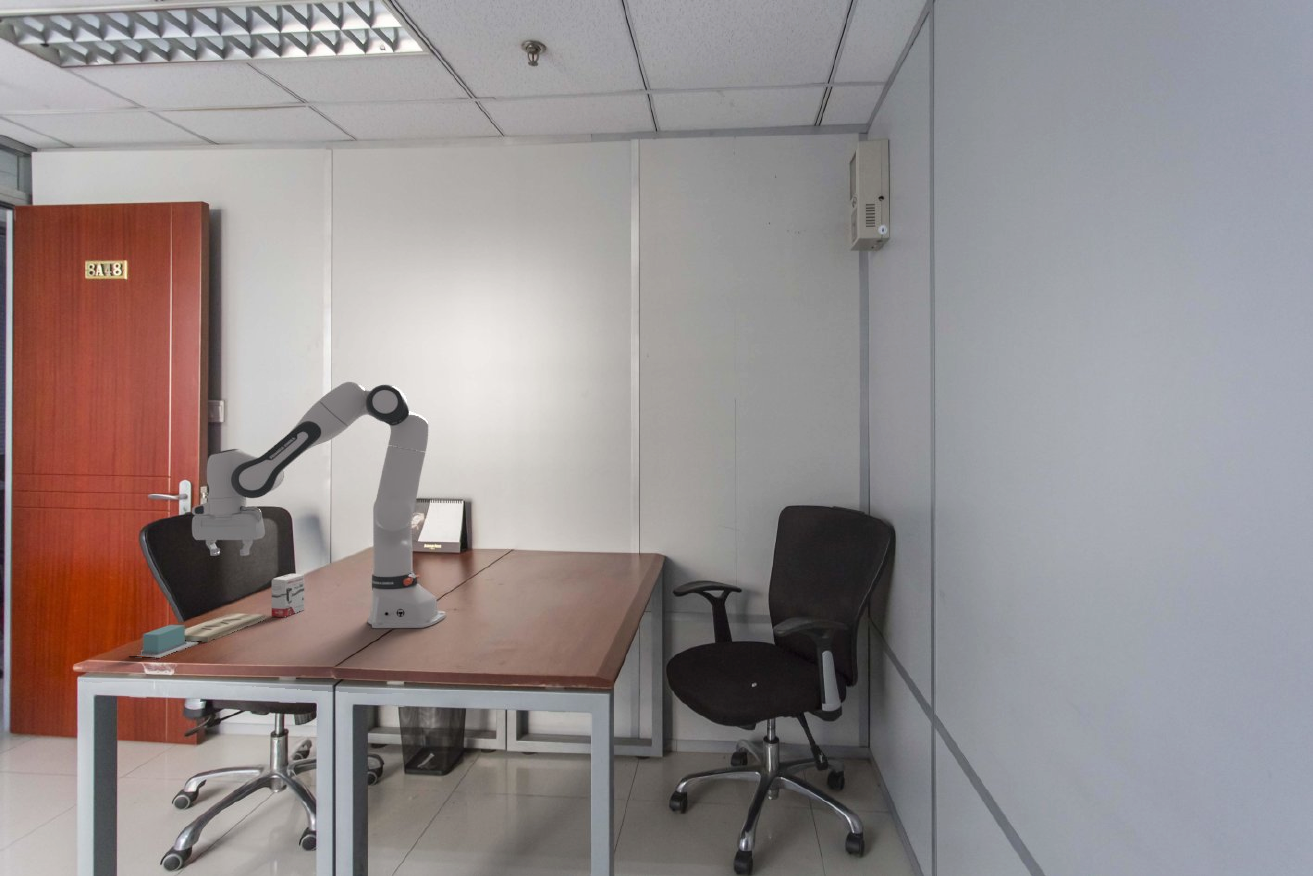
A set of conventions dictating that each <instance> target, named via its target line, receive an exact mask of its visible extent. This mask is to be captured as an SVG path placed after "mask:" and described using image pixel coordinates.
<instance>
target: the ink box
mask: <svg viewBox="0 0 1313 876" xmlns="http://www.w3.org/2000/svg"><path fill="white" fill-rule="evenodd" d="M305 576H306V575H305V574H300V573H289V574H285V575H282V576H278V577H274V578H272V579H271V617H272V616H276V617H275V618H286V617H285V616H287V617H289V616H288V615H290V614H292V615H295V614H298V613H300V612H299V611H301V612H303V611H305V583H306V582H305V578H306V577H305ZM302 610H303V611H302ZM297 612H298V613H297ZM294 613H295V614H294ZM290 616H291V615H290Z"/></svg>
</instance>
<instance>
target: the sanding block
mask: <svg viewBox="0 0 1313 876" xmlns="http://www.w3.org/2000/svg"><path fill="white" fill-rule="evenodd" d="M185 629H186V625H181V624H179V625H178V624H169V625H166V626H163V627H160V628H158V629H157V628H156V629H154V630H151V631H148V632H146V633H142V650H143V651H142V650H140V651H141V654H156V655H159V654H162V653H164V652H167V651H169V650H172V649H174V648H177V647H180V646H182V645H185V644H186V642H187V641H186V642H185Z"/></svg>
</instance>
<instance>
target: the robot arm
mask: <svg viewBox="0 0 1313 876" xmlns="http://www.w3.org/2000/svg"><path fill="white" fill-rule="evenodd" d="M367 415H368V416H370V417H373V418H374V419H375V420H377V421H379V422H383V423H385V424H388V425H389V427H390V435H389V440H388V444H387V448H386V453H385V458H384V462H383V467H382V471H381V476H380V481H379V485H378V488H377V489H378V490H377V495H376V499H375V501H374V503H373V506H372V507H373V510H372V512H373V513H372V514H373V515H372V516H373V518H372V519H373V520H372V521H373V522H372V523H373V528H372V529H373V538H372V539H373V541H372V542H373V549H372V550H373V552H372V553H373V554H372V557H373V558H372V559H373V561H372V562H373V574H372V575H371V588H372V597H371V604H370V605H371V606H370V610H369V615H368V618H367V623H368V624H370V625H371V627H372V629H412V628H413V629H420V628H421V629H424V628H427V627H431V626H432V625H435V624H437V623H439V622H441V621H443V619H445V618H446V611H443V610H439V607H438V606H439V605H438V601H437V598H436V596H435V595H434V594H432V593H430V591H428V590H427V589H425V588H424V587H423V586H421V585H420V584H419V581H418V579H420V578H421V573H419V574H417V575H416V573H415V572H414V570H413V533H412V532H413V531H412V528H413V527H412V520H413V517H414V513H415V508H416V502H417V497H418V490H419V487H420V479H421V475H422V469H423V467H424V461H425V457H426V452H427V447H428V441H429V422H428V421H427V419H426V418H425V417H423V416H422V415H420V414H418V413H414V412H412V411H410V409H409V406H408V401H407V397H406V396H405V394H404V393H403V392H402V390H400V389H399V388H398V387H396V386H394V385H391V384H380V385H377V386H375V387H374V388H372V389H371V390H367V389H365V388H364V387H363V386H362V385H360V384H359V383H356V382H352V381H346V382H343V383H341V384H340V385H338V386H337V387H334V388H333V389H331V390H330V391H329V392H327V393H326V394H325V395H324V396H322V397H321V398H320V399H319V400H317V401H316V402H315V403H314V404H313V405H312V406H311V407H310V408H309V409H308V410H307V412H305V414H304V415H303V416H302V417H301V419H300V420H299V421H298V422H297V423H296V425H295V426H294V427H293V428H292V429H291V430H290V432H289V433H288V434H286V435H285V436H284V437H283V438H282V439H281V440H279V441H277V443H276V444H274V445H273V446H272V447H271V448H270V449H268V450H267V451H266V452H264V454H262V455H261V456H259V457H257V456H255V455H251V454H249V453H248V452H247V453H246V452H244V451H243V450H242V449H239V448H230V449H225V450H220V451H217V452H214V453H212V454H210V456H209V457H208V460H207V466H206V483H207V485H208V489H209V491H208V495H207V501H206V502H203V503H202V504H199V505H196V506H193V507H192V508H191V513H192V515H194V516H193V517H192V519H191V520H192V521H191V533H192V537H193V538H194V540H196V541H205V545H206V546H207V548H208V549H209V553H210V556H219V555H220V554H221V552H220V551H221V548H219V547H217V545H216V543H217V541H242V544H243V546H242V548H241V549H239V555H240V556H241V557H243V556H244V557H245V556H249V555H250V549H251V547H252V545H253V543H254V541H255V540H256V541H257V540H259V539H263V538H264V537H265V535H266V531H265V529H266V528H265V524H264V518H263V515H262V513H263V512H262V511H261V509H260V508H258V507H257V506H254V505H253V506H247V498H248V499H256V498H257V499H258V498H262V497H263V496H265V495H267V494H268V493H270V492H272V491H274V490H276V489H277V488H279V486H280V485H281V484H283V481H284V477H285V475H284V474H285V473H284V472H285V471H284V469H286V468H287V467H288V466H289V465H290V464H292V463H293V462H294V461H295V460H296V459H298V458H299V457H300V456H301V455H302V454H303V453H304V452H306V451H308V450H309V449H311V448H314V447H315V446H317V445H321V444H323V443H326V442H328V441H330V440H333V439H334V438H336V437H337V436H338V435H340V434H342V433H343V432H344V431H345V430H347V429H348V428H349V427H350V426H351V425H352V424H353V423H354V422H355V421H357V420H358V419H359V418H361V417H362V416H363V417H364V416H367Z"/></svg>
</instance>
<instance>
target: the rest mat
mask: <svg viewBox="0 0 1313 876" xmlns="http://www.w3.org/2000/svg"><path fill="white" fill-rule="evenodd" d="M185 642H186V644H185V645H182V646H180V647H177V648H174V649H172V650H169V651H167V652H164V653H162V654H159V655H156V654H152V655H151V654H150V655H149V654H147V655H146V654H141V655H137V656H146V657H155V658H154V659H156V658H160V659H162V658H161V657H163V656H165V657H167V656H166V655H168V654H170V655H172V654H171V653H173V652H176V651H178V652H181V651H183V650H185V648H186V649H188V647H189V648H191V647H193V646H196V645H198V644H199V642H197V641H185ZM141 651H143V649H142V650H141ZM176 653H177V652H176ZM173 654H174V653H173ZM168 656H169V655H168ZM163 658H164V657H163Z"/></svg>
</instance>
